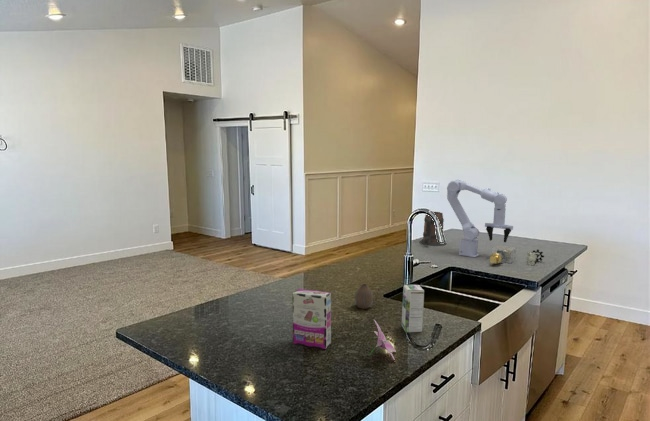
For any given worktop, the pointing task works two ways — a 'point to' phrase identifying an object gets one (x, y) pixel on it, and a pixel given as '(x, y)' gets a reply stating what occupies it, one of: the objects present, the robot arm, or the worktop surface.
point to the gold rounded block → (496, 258)
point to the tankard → (431, 230)
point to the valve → (533, 257)
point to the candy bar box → (312, 318)
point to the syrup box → (412, 308)
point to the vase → (363, 297)
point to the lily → (383, 342)
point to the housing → (506, 253)
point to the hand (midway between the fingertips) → (497, 241)
